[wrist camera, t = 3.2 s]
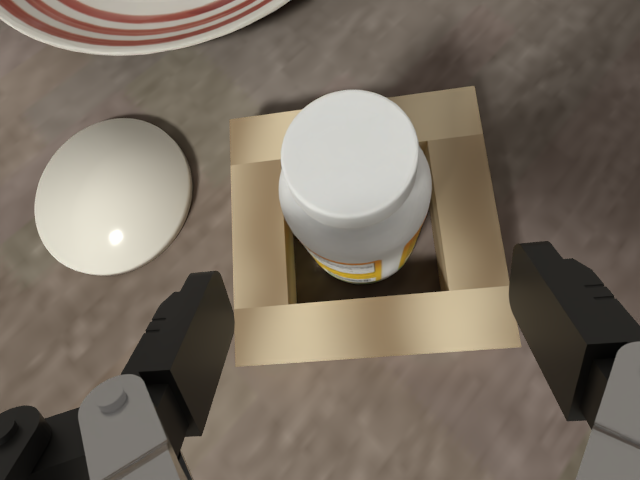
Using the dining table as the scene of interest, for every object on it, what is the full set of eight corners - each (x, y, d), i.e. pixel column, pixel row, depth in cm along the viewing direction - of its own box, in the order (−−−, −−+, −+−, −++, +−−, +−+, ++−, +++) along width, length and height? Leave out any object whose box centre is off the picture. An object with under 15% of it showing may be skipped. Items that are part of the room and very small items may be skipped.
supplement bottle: (380, 164, 22) (382, 34, 13) (436, 251, 21) (486, 179, 11) (290, 214, 22) (225, 123, 13) (340, 305, 21) (309, 279, 11)
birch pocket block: (250, 363, 20) (235, 366, 18) (243, 139, 23) (229, 119, 21) (505, 345, 19) (521, 347, 17) (465, 110, 22) (474, 85, 20)
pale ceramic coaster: (13, 208, 24) (4, 205, 24) (120, 95, 25) (114, 89, 24) (111, 310, 22) (104, 309, 21) (225, 183, 23) (221, 179, 22)
